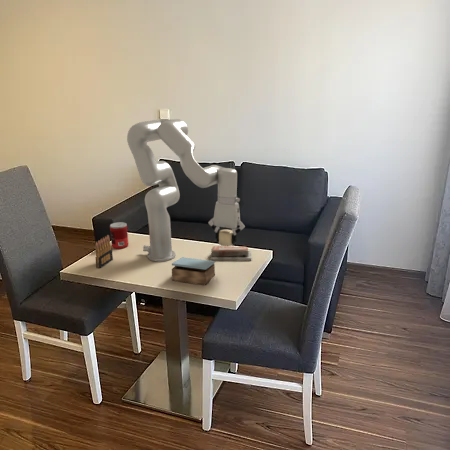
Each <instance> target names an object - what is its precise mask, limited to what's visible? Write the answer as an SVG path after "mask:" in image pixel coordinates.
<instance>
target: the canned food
mask: <svg viewBox="0 0 450 450" xmlns="http://www.w3.org/2000/svg"><path fill="white" fill-rule="evenodd" d="M109 231H110V232H109V233H110V244H111V248H113V249H116V250H122V249H126V248H128V247H129V235H128V234H129V233H128V225H127V223H126V222H123V221H121V222H120V221H118V222H113V223H110V224H109Z"/></svg>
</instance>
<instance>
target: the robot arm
mask: <svg viewBox="0 0 450 450" xmlns="http://www.w3.org/2000/svg"><path fill="white" fill-rule="evenodd" d="M188 133H189V127H188V125H187V123H186V122H185V121H184V120H182V119H179V118H174V119H153V120H146V121H145V120H144V121H141V122H137V123H135V124H133V125H132V126H131V127H129V129H128V132H127V136H126V142H127V145H128V148H129V150H130V151H131V154H132V156H133V157H132V158H133V159H134V162H135V163H134V164H135V165H136V169H137V172H138V175H139V177H140V180H141V182H142V184H143V185H144V186H147V187H152V186H153V187H154V186H155V185H156V186H157V185H158V187H155V188H152V189H151V190H149V191H148V192H147V193H145V197H144V205H145V208H146V211H147V220H148V222H147V223H148V234H149V245H146V244H145V245H142V246H143V247H142V250H143V252H147V259H148V260H150V261H152V262H167V261H170V260H172V259H174V258H176V252H175V251H174V250H173V249H172V247H173V246H172V231H171V230H172V229H171V216H170V214H169V212H168V210H167V208H168V207H171V206H174V205H175V204H176V203H178V202H179V201H180V198H181V197H180V196H181V194H180V190H179V186H178V183H177V179H176V177H175V173H174V171H173V168H172V167H171V165H170V164H169V163H168V162H166V161H164V160H159V161H156V158H155V154H154V151H153V150H152V148H151V147H150V146H149V145H148V144H147V143H148V142H154V141H158V140H161V141H162V142H163V143H164V145H166V146H167V147H168V148H169V150H171V151H172V152H173V153H174V154H175V155H176V156H177V157H178V159H179V161H180V166H181V168H182V171H183V173H184V174H185V176H186V177H188V179H189V180H190V181H191V182H192V183H193V184H194V185H196V186H197V187H199V188H201V189H204V188H205V189H206V188H209V187H211V186H214V185H217V201H216V202H215V206H214V210H213V211H214V213H213V217H212V218H211V219H210V220H209V221H208V222H207V223H208V225H209V226H210V227H211V228H212V229H213V231H214V232H215V239H216V241H215V242H217V243H219V231H220V230H221V228H227V229H230V230H232V232H233V235H232V244H233V245H234V244H235V243H236V242H237V240H238V234H239V233H240V232H241V231H242V230H244V229H245V227H246V226H245V224H244V223H243V221H241V213H240V204H239V203H240V201H241V198H240V197H238V195H237V194H238V193H237V192H238V191H237V190H238V189H237V188H238V171H237V170H236V169H235V168H231V167H230V168H229V167H224V166H220V165H216V164H212V165H209V166H205V167H202V166H201V165H200V164H199V163H198V162H197V161H196V159H195V158H194V155H193V153H194V151H195V148H196V144H195V142H193V141H192V140H191V139H190V137H189V136H188ZM238 226H239V227H238Z"/></svg>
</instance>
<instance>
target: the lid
mask: <svg viewBox="0 0 450 450" xmlns="http://www.w3.org/2000/svg"><path fill="white" fill-rule="evenodd" d="M215 263H216V262H215V261H211V260H208V259H201V258H200V259H199V258H192V257H185V256H182V257H180V258H179V259H177V260H176V261H173V262H172V263H171V266H173V267H175V266H181V267H189V268H196V269H204V270H206V269H207V268H209V267H210V266H211V265H213V264H215Z"/></svg>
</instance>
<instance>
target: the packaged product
mask: <svg viewBox="0 0 450 450" xmlns="http://www.w3.org/2000/svg"><path fill="white" fill-rule="evenodd" d="M210 253H211V255H210V261H217V262H218V261H219V262H221V261H223V262H227V261H228V262H240V261H241V262H247V261H248V262H249V261H252V250H249V247H247V246H233V245H231V246H221V245H220V246H219V245H218V246H216V245H214V246H212V248H211V251H210Z"/></svg>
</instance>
